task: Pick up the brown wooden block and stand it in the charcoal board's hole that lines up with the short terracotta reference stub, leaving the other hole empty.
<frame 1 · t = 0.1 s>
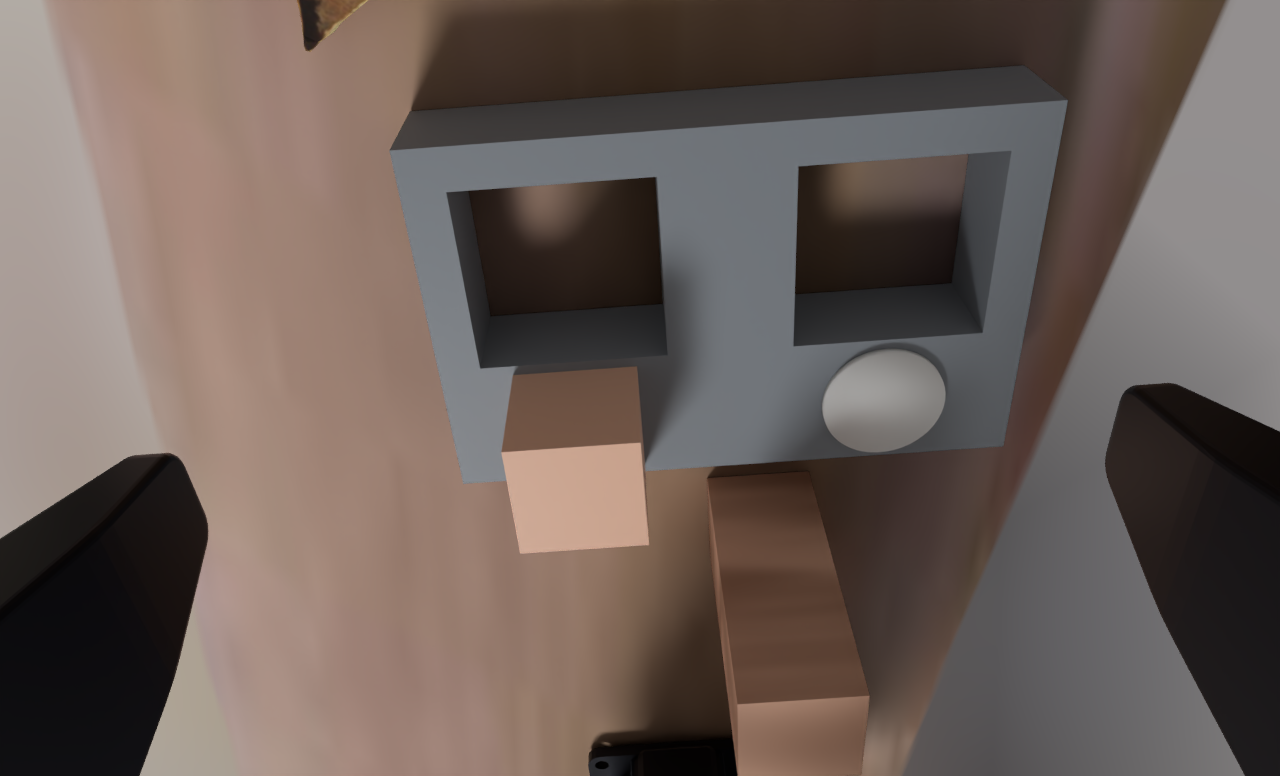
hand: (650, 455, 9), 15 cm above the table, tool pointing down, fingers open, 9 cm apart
brown wooden block: (757, 512, 29), on the table
pin board: (719, 265, 24), on the table
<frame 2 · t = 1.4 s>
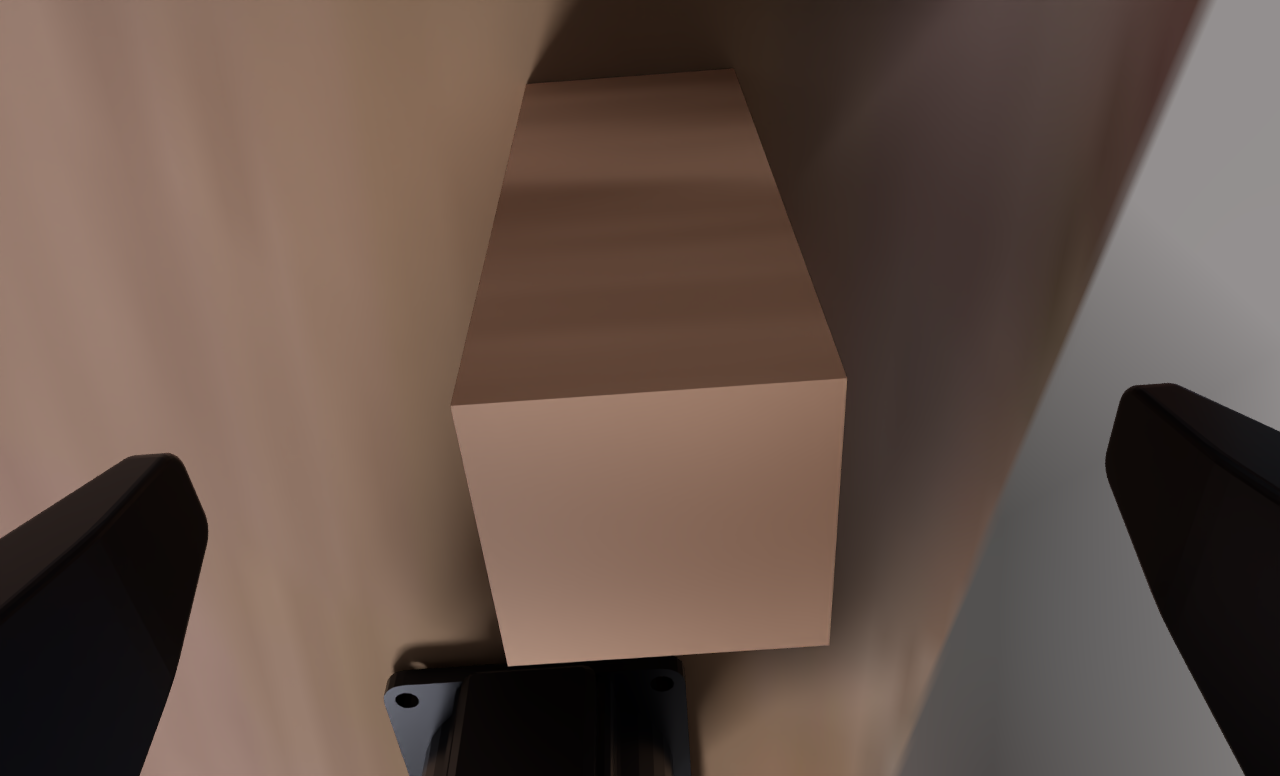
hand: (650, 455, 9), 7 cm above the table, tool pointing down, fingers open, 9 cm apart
brown wooden block: (636, 174, 15), on the table
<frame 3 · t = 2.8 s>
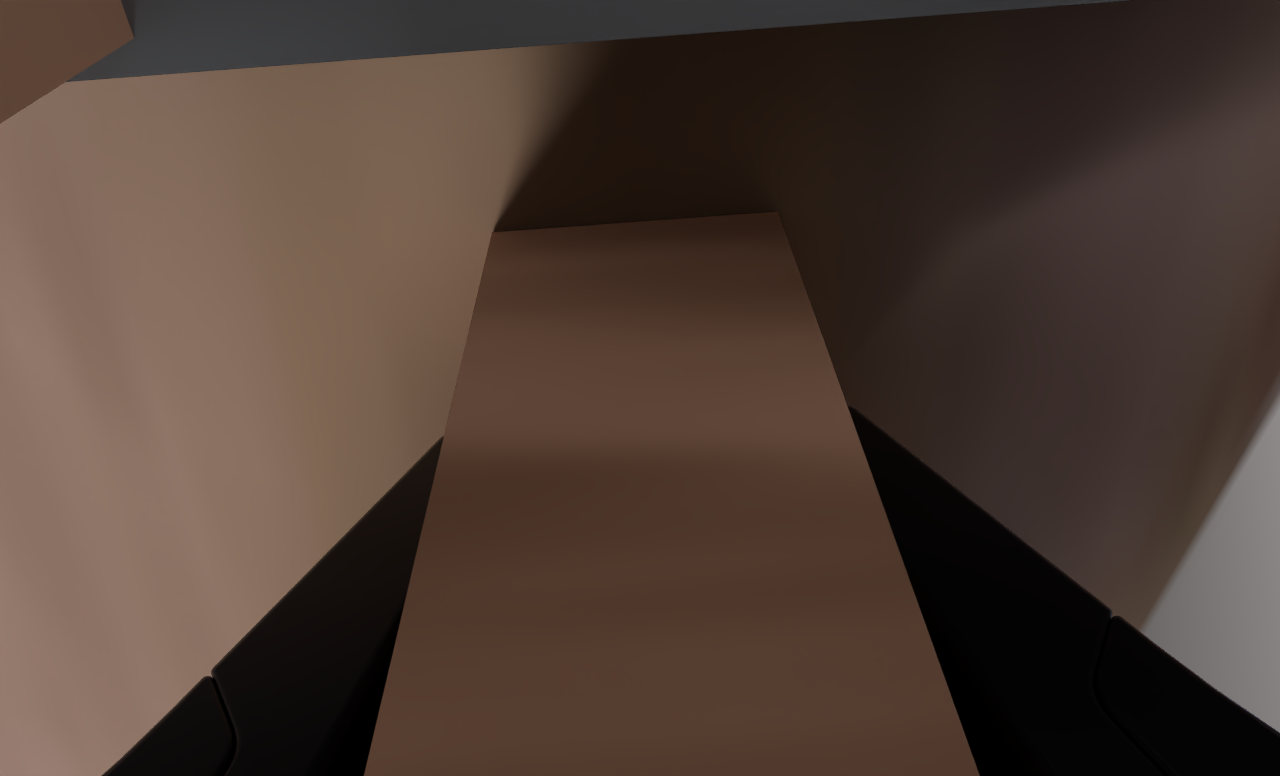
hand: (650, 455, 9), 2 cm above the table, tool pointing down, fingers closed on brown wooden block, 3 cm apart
brown wooden block: (643, 343, 11), on the table, touching gripper
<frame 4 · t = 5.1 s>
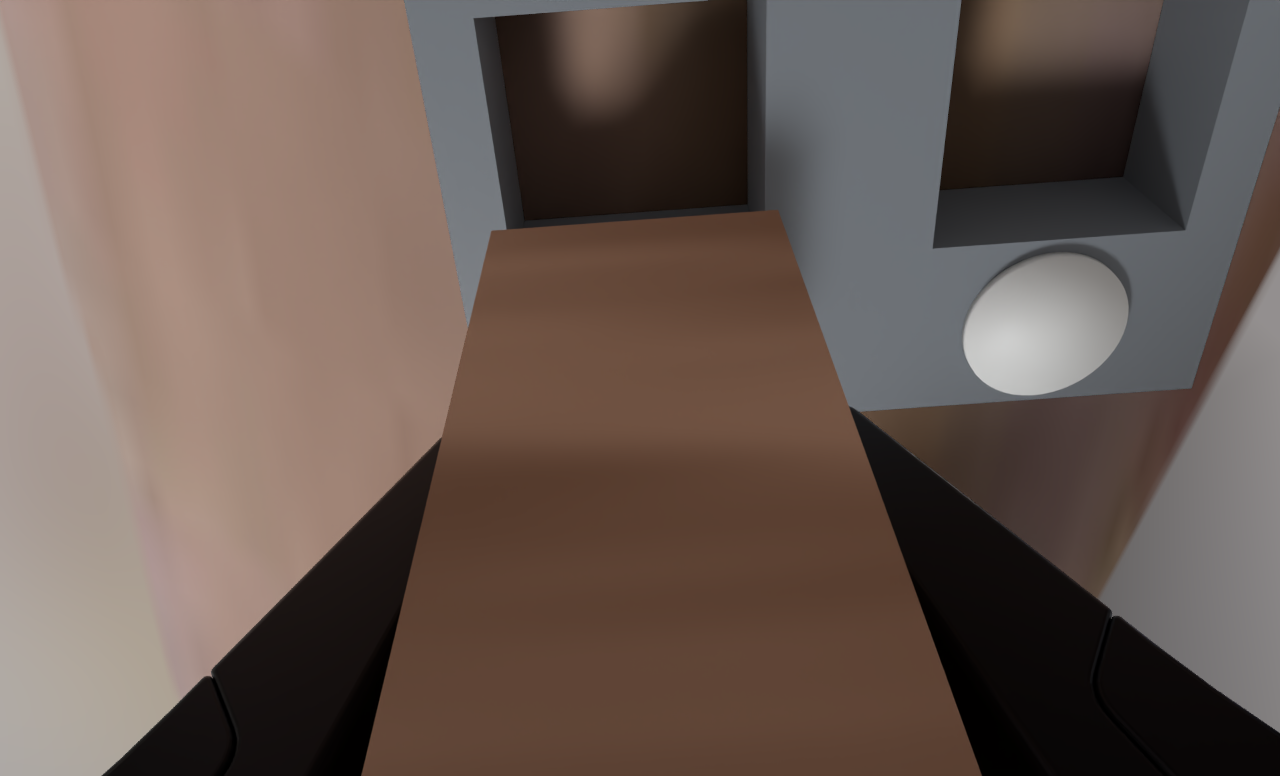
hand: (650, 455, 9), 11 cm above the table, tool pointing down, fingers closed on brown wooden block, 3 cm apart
brown wooden block: (643, 342, 11), point 9 cm above the table, touching gripper
pin board: (824, 150, 19), on the table
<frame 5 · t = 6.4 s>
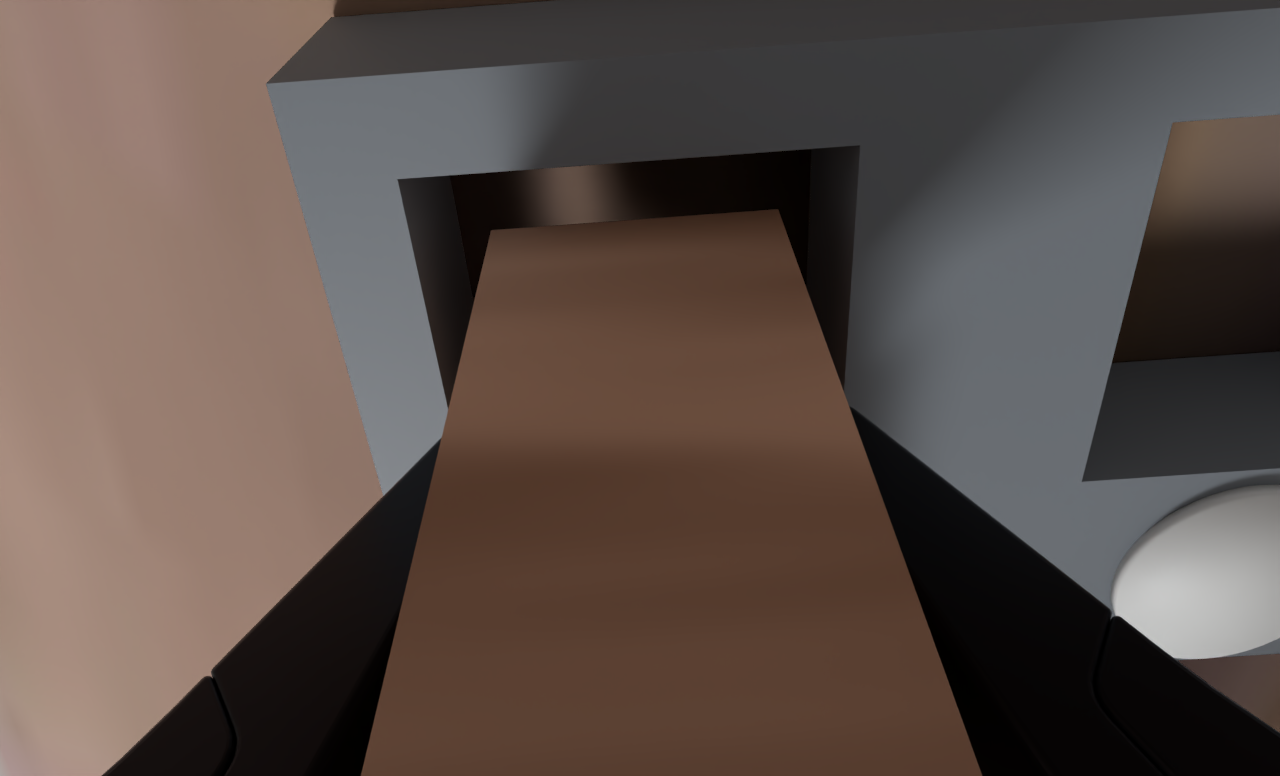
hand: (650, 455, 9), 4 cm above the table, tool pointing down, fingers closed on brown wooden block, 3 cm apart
brown wooden block: (643, 342, 11), point 2 cm above the table, touching gripper
pin board: (913, 317, 13), on the table
when the fingers open (3 cm above the table, at t = 7.3 s): brown wooden block drops 2 cm, resting in pin board.
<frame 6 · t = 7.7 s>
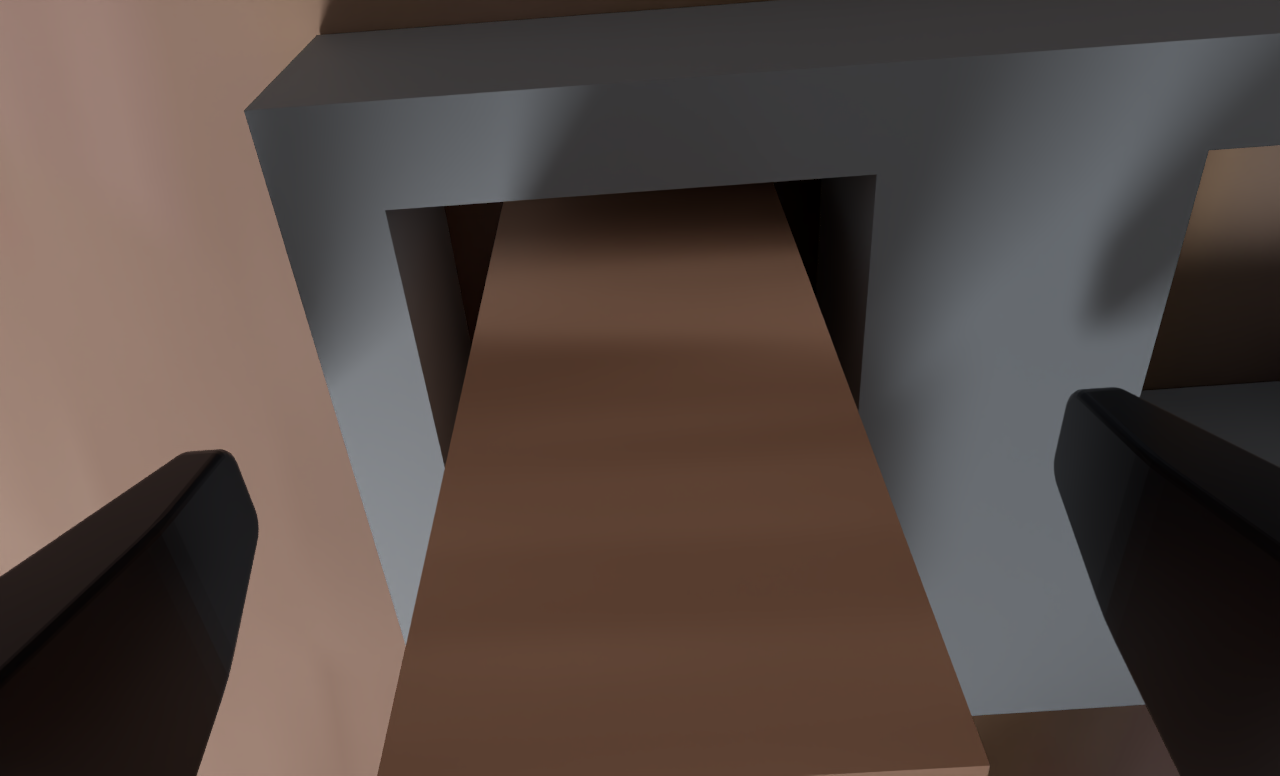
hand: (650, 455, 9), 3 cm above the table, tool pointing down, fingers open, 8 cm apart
brown wooden block: (642, 280, 12), resting in pin board
pin board: (926, 344, 13), on the table
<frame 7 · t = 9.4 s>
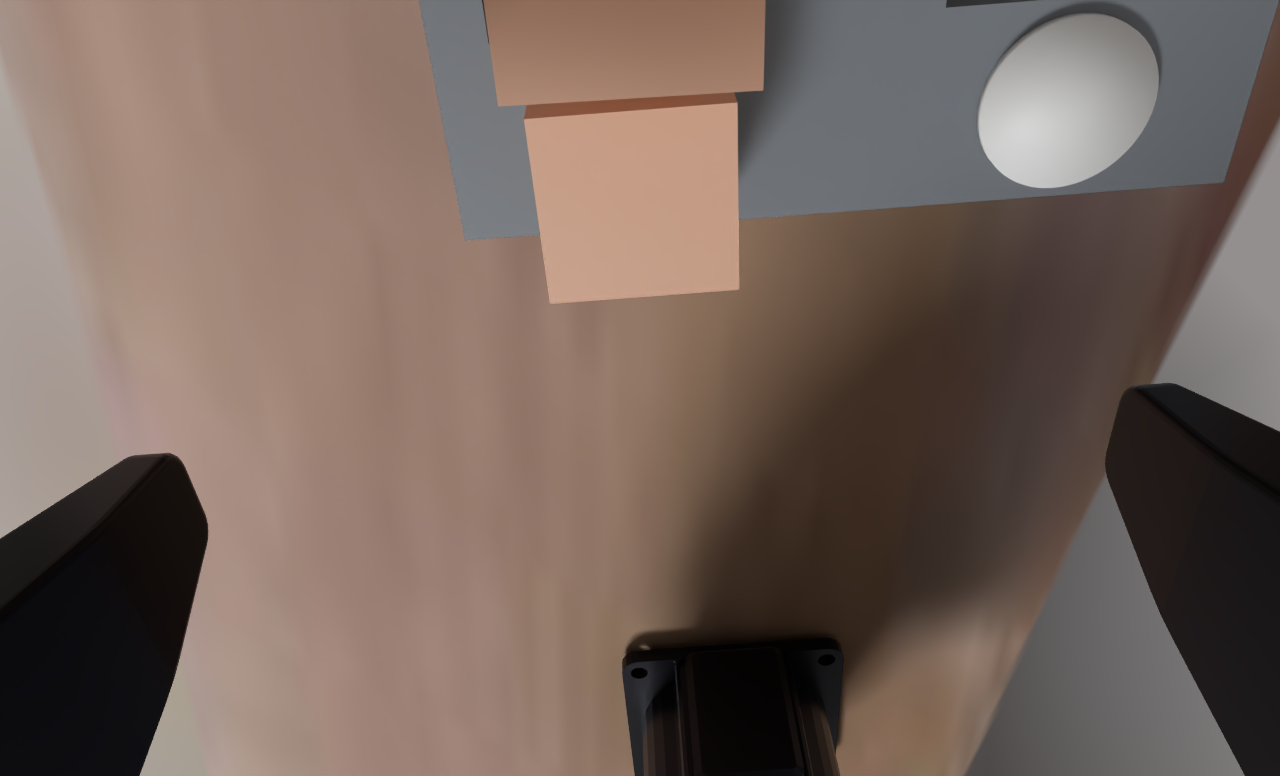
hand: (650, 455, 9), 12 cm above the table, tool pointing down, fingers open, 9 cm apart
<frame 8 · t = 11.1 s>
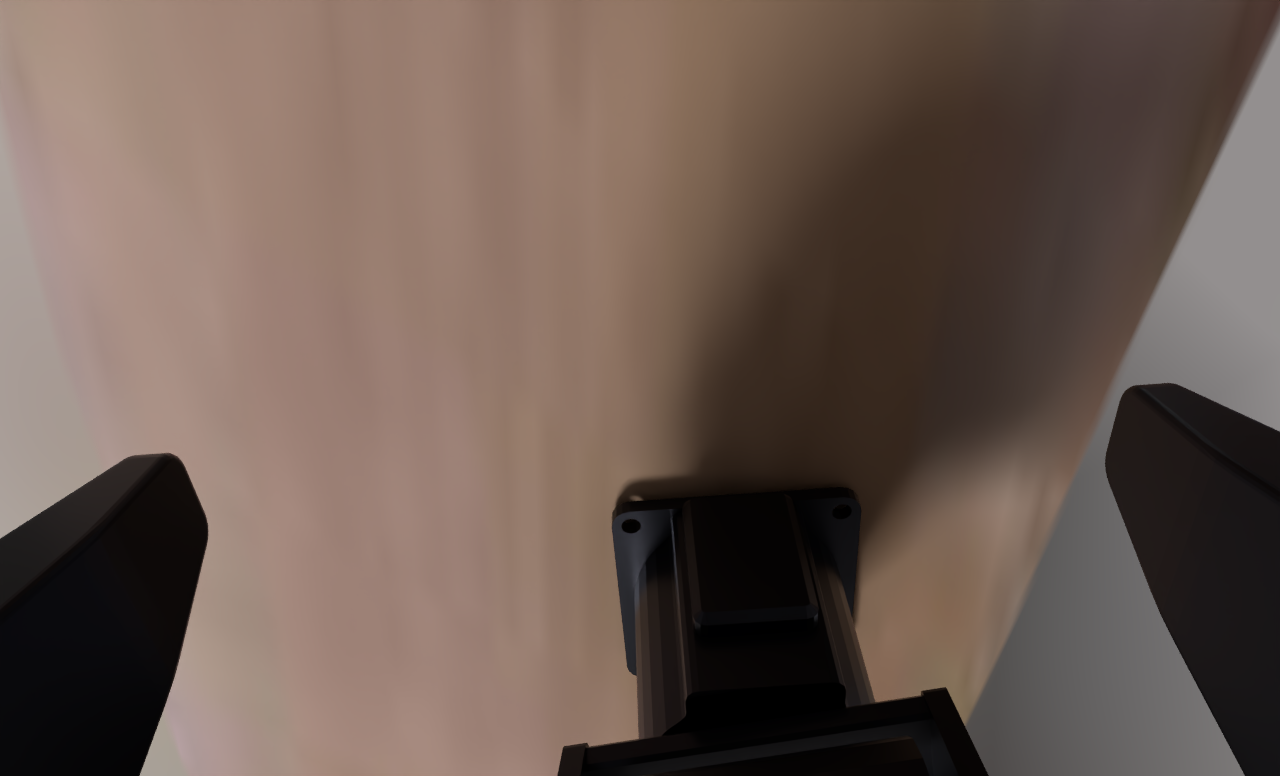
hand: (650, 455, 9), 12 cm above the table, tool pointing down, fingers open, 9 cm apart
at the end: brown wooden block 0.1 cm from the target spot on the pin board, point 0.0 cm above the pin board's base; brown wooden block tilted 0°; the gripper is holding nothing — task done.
